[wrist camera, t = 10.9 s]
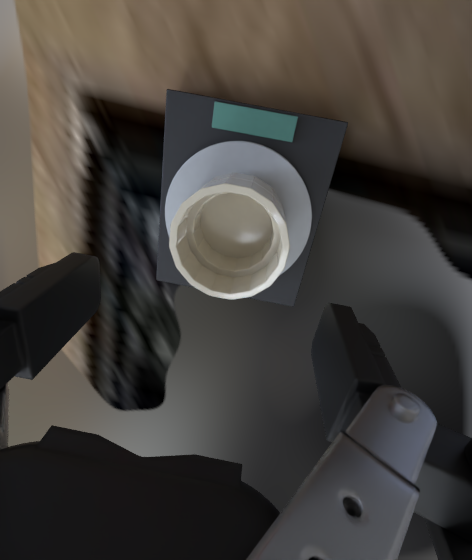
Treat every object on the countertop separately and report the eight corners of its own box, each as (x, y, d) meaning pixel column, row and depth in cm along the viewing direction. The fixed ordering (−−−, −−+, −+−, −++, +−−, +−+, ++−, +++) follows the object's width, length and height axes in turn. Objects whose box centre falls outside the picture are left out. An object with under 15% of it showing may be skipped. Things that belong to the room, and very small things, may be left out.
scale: (177, 93, 20) (163, 87, 18) (340, 123, 20) (350, 122, 18) (165, 268, 26) (153, 283, 24) (291, 292, 26) (294, 311, 23)
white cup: (196, 163, 19) (173, 173, 15) (295, 182, 19) (303, 197, 15) (186, 256, 22) (165, 287, 18) (273, 272, 22) (274, 308, 18)
